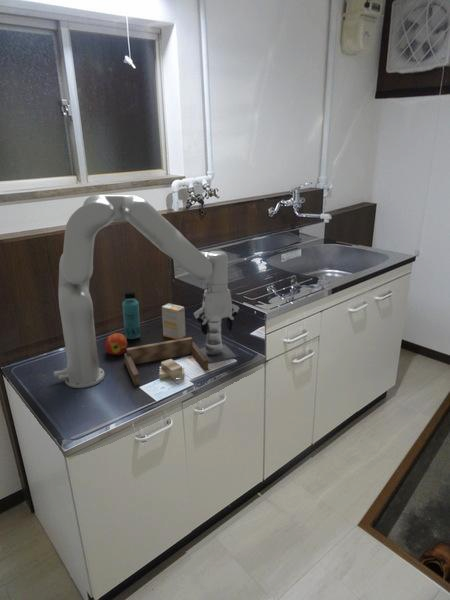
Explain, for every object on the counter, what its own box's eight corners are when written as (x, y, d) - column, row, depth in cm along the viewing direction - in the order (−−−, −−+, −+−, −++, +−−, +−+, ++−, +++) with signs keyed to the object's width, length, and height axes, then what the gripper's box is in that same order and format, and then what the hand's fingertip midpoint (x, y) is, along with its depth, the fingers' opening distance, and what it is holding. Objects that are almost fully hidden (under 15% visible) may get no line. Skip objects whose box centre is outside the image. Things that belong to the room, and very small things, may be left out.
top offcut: (161, 368, 143) (160, 362, 142) (171, 365, 145) (171, 358, 144) (172, 377, 138) (171, 370, 137) (182, 373, 140) (182, 366, 139)
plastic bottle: (223, 349, 159) (223, 300, 152) (221, 358, 153) (221, 306, 146) (206, 348, 160) (206, 299, 153) (203, 357, 154) (203, 305, 147)
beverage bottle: (123, 336, 171) (119, 290, 164) (140, 334, 173) (137, 288, 166) (125, 343, 165) (121, 295, 158) (142, 341, 167) (139, 293, 160)
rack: (134, 385, 136) (133, 369, 134) (125, 363, 150) (123, 348, 148) (208, 370, 146) (208, 354, 144) (193, 350, 160) (192, 336, 158)
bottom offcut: (159, 380, 140) (159, 374, 139) (160, 374, 144) (160, 368, 143) (183, 380, 141) (183, 373, 140) (184, 374, 144) (184, 367, 143)
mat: (208, 363, 150) (208, 362, 150) (197, 350, 160) (197, 349, 160) (236, 357, 154) (236, 356, 154) (224, 345, 164) (224, 344, 164)
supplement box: (186, 336, 171) (185, 306, 167) (178, 341, 168) (177, 310, 163) (170, 332, 175) (169, 302, 171) (162, 336, 172) (161, 306, 167)
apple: (105, 359, 153) (103, 339, 150) (106, 349, 160) (105, 330, 158) (128, 357, 154) (126, 337, 151) (128, 347, 162) (126, 328, 159)
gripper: (197, 293, 142) (198, 339, 147) (243, 286, 148) (242, 331, 154) (189, 286, 148) (191, 331, 154) (234, 280, 154) (234, 323, 160)
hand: (216, 331), depth 154 cm, fingers open, 9 cm apart
